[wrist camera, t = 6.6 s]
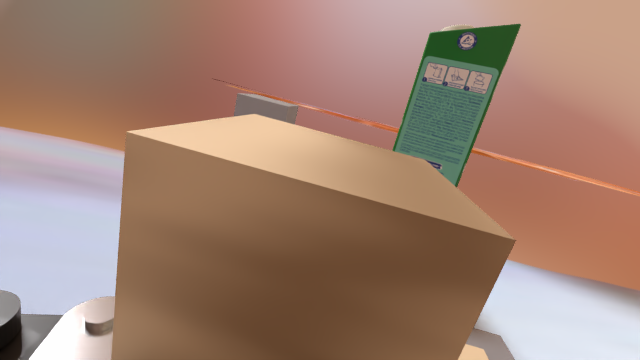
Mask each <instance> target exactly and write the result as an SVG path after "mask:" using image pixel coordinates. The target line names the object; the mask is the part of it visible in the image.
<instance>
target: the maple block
mask: <svg viewBox="0 0 640 360" xmlns="http://www.w3.org/2000/svg"><path fill="white" fill-rule="evenodd" d="M515 241H516V240H515V239H514V238H513V237H512V236H511V235H509V234H508V233H507V232H506V231H505V230H504V229H503V228H502V227H501V226H499V225H498V224H497V223H496V222H495V221H494V220H493V219H491V218H490V217H489V216H488V215H487V214H486V213H485V212H484V211H482V210H481V209H480V208H479V207H478V206H477V205H476V204H475V203H473V202H472V201H471V200H470V199H469V198H468V197H467V196H466V195H464V194H463V193H462V192H461V191H460V190H459V189H458V188H457V187H455V186H454V185H453V184H452V183H451V182H450V181H449V180H447V179H446V178H445V177H444V176H443V175H442V174H441V173H440V172H438V171H437V170H436V169H435V168H434V167H433V166H432V165H431V164H429V163H428V162H427V161H426V160H424V159H420V158H417V157H413V156H409V155H405V154H402V153H398V152H394V151H391V150H387V149H383V148H379V147H376V146H372V145H368V144H365V143H361V142H357V141H354V140H350V139H346V138H342V137H338V136H335V135H331V134H328V133H324V132H320V131H317V130H313V129H309V128H305V127H301V126H298V125H294V124H291V123H287V122H283V121H279V120H276V119H272V118H268V117H265V116H261V115H257V114H249V115H242V116H235V117H228V118H221V119H214V120H206V121H199V122H192V123H185V124H178V125H171V126H163V127H156V128H149V129H142V130H135V131H129V132H126V144H125V159H124V174H123V188H122V203H121V218H120V233H119V248H118V263H117V278H116V293H115V308H114V323H113V338H112V353H111V360H458V358H459V356H460V354H461V352H462V350H463V348H464V346H465V344H466V342H467V340H468V338H469V336H470V334H471V332H472V330H473V328H474V326H475V323H476V321H477V319H478V317H479V315H480V313H481V311H482V309H483V307H484V305H485V303H486V301H487V299H488V297H489V295H490V293H491V291H492V289H493V287H494V284H495V282H496V280H497V278H498V276H499V274H500V272H501V270H502V268H503V266H504V264H505V262H506V260H507V258H508V256H509V254H510V251H511V250H512V248H513V245H514V243H515Z"/></svg>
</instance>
